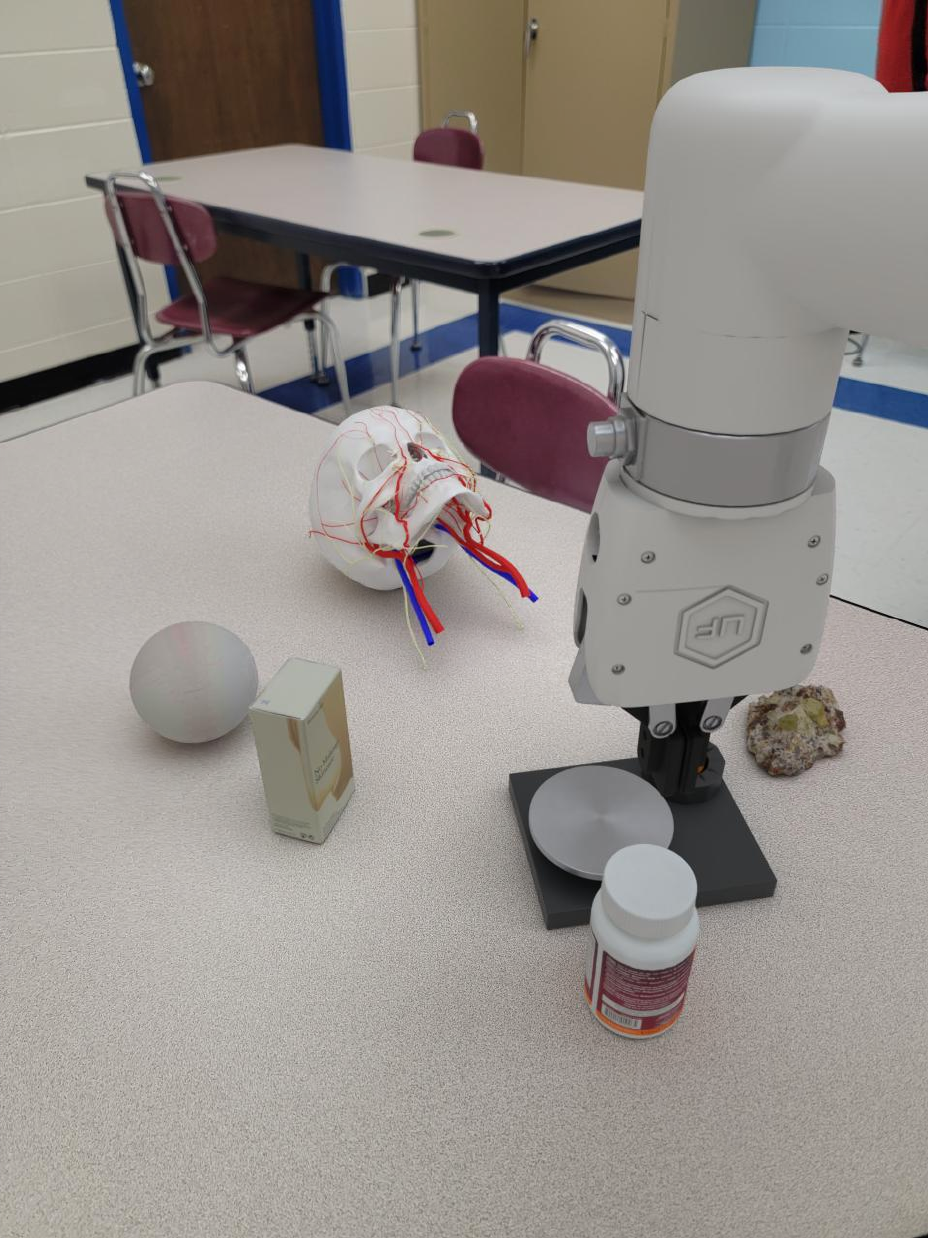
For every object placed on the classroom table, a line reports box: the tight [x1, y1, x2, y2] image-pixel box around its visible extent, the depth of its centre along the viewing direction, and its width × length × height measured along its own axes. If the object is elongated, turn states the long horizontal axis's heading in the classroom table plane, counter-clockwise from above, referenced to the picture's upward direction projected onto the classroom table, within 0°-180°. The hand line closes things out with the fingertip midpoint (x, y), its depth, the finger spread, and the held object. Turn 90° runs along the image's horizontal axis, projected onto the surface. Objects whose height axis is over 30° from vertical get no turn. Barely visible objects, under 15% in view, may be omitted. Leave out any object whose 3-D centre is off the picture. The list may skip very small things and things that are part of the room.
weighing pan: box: [529, 766, 674, 881], centre depth 63 cm, size 10×10×1 cm
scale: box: [508, 740, 778, 931], centre depth 66 cm, size 16×14×4 cm
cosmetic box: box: [248, 656, 356, 844], centre depth 66 cm, size 6×4×12 cm
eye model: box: [129, 620, 259, 744], centre depth 74 cm, size 10×10×10 cm
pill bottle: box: [583, 844, 700, 1040], centre depth 53 cm, size 6×6×11 cm
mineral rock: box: [745, 683, 847, 776], centre depth 74 cm, size 11×4×8 cm
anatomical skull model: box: [308, 405, 539, 672], centre depth 87 cm, size 16×19×25 cm
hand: (667, 774), depth 46 cm, fingers closed
